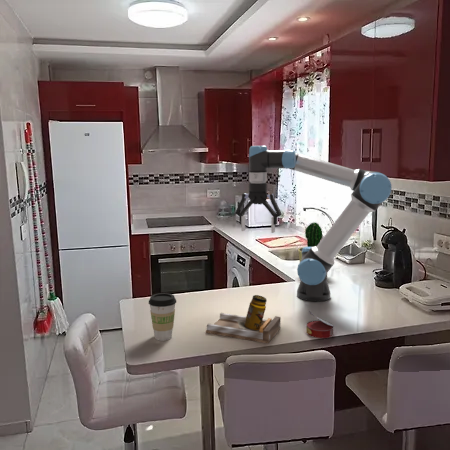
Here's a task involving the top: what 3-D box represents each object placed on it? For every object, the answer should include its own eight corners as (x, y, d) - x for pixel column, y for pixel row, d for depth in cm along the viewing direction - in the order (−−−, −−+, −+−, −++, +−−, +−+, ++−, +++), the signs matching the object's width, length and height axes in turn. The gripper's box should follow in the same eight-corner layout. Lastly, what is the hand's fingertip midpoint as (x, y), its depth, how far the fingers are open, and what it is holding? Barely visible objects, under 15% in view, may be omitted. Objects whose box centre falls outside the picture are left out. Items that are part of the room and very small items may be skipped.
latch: (259, 336, 159) (259, 328, 159) (268, 325, 169) (268, 318, 168) (262, 336, 159) (262, 328, 158) (271, 326, 168) (271, 318, 168)
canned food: (308, 340, 170) (309, 313, 173) (335, 341, 166) (336, 314, 170) (301, 336, 160) (302, 308, 164) (330, 338, 157) (330, 309, 160)
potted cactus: (316, 272, 247) (318, 218, 242) (332, 279, 233) (335, 222, 228) (292, 275, 242) (293, 220, 237) (307, 282, 228) (309, 224, 223)
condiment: (262, 333, 163) (270, 302, 161) (239, 328, 161) (248, 297, 160) (258, 325, 170) (266, 295, 168) (236, 321, 168) (245, 291, 167)
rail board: (205, 332, 165) (205, 321, 164) (221, 318, 179) (222, 308, 178) (268, 343, 156) (268, 331, 155) (280, 328, 169) (280, 317, 169)
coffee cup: (145, 341, 157) (144, 300, 155) (154, 330, 167) (153, 291, 164) (172, 343, 156) (172, 302, 153) (180, 332, 165) (179, 293, 163)
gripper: (227, 182, 193) (228, 231, 196) (284, 183, 183) (283, 234, 187) (234, 181, 200) (234, 228, 203) (288, 182, 190) (288, 231, 193)
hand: (258, 231), depth 195 cm, fingers open, 13 cm apart
